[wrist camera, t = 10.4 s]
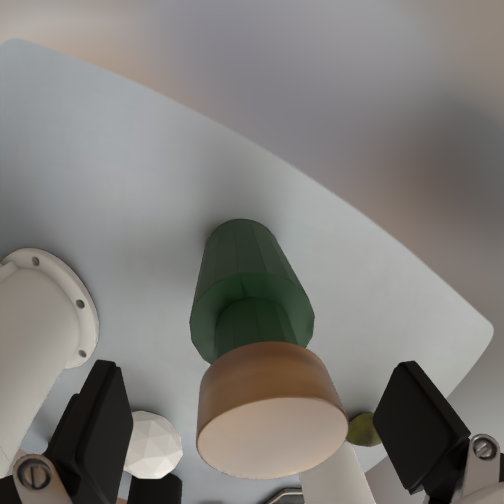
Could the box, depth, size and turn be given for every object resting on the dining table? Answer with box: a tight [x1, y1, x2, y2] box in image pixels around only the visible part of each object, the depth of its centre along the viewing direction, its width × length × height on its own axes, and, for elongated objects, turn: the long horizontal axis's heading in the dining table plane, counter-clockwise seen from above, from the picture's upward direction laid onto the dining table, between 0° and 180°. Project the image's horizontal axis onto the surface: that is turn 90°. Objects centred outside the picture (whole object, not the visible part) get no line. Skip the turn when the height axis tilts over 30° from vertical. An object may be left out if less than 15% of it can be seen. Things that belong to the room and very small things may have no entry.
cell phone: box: [265, 489, 305, 504], centre depth 37 cm, size 6×11×1 cm, turn 156°
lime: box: [346, 412, 382, 447], centre depth 28 cm, size 4×5×5 cm
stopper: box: [196, 341, 349, 479], centre depth 9 cm, size 4×4×4 cm
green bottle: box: [189, 219, 315, 365], centre depth 16 cm, size 6×6×14 cm
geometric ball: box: [123, 411, 183, 479], centre depth 25 cm, size 8×8×8 cm
